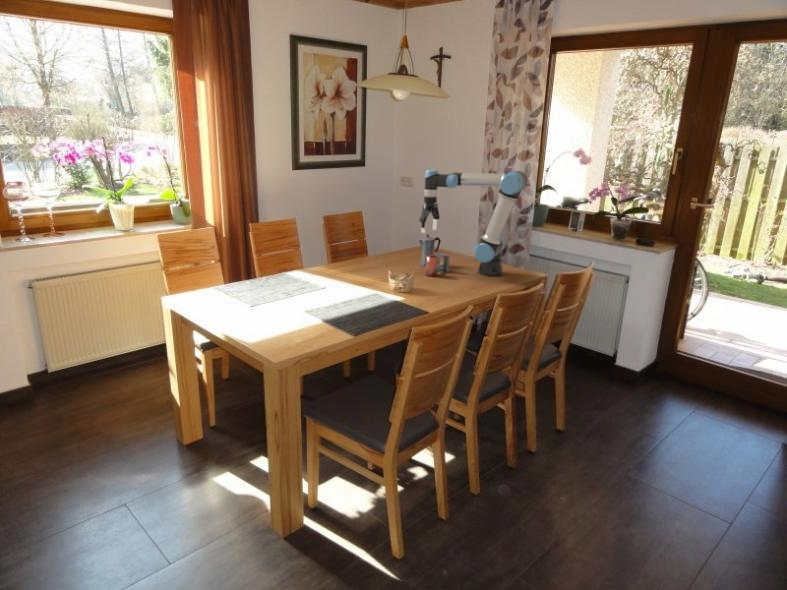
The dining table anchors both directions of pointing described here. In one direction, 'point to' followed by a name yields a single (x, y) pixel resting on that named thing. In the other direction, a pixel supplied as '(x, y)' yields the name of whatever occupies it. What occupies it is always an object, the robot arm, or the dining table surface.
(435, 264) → the copper container
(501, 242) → the robot arm
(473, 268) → the dining table surface
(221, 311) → the dining table surface
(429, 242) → the moka pot
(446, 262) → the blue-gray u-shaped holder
